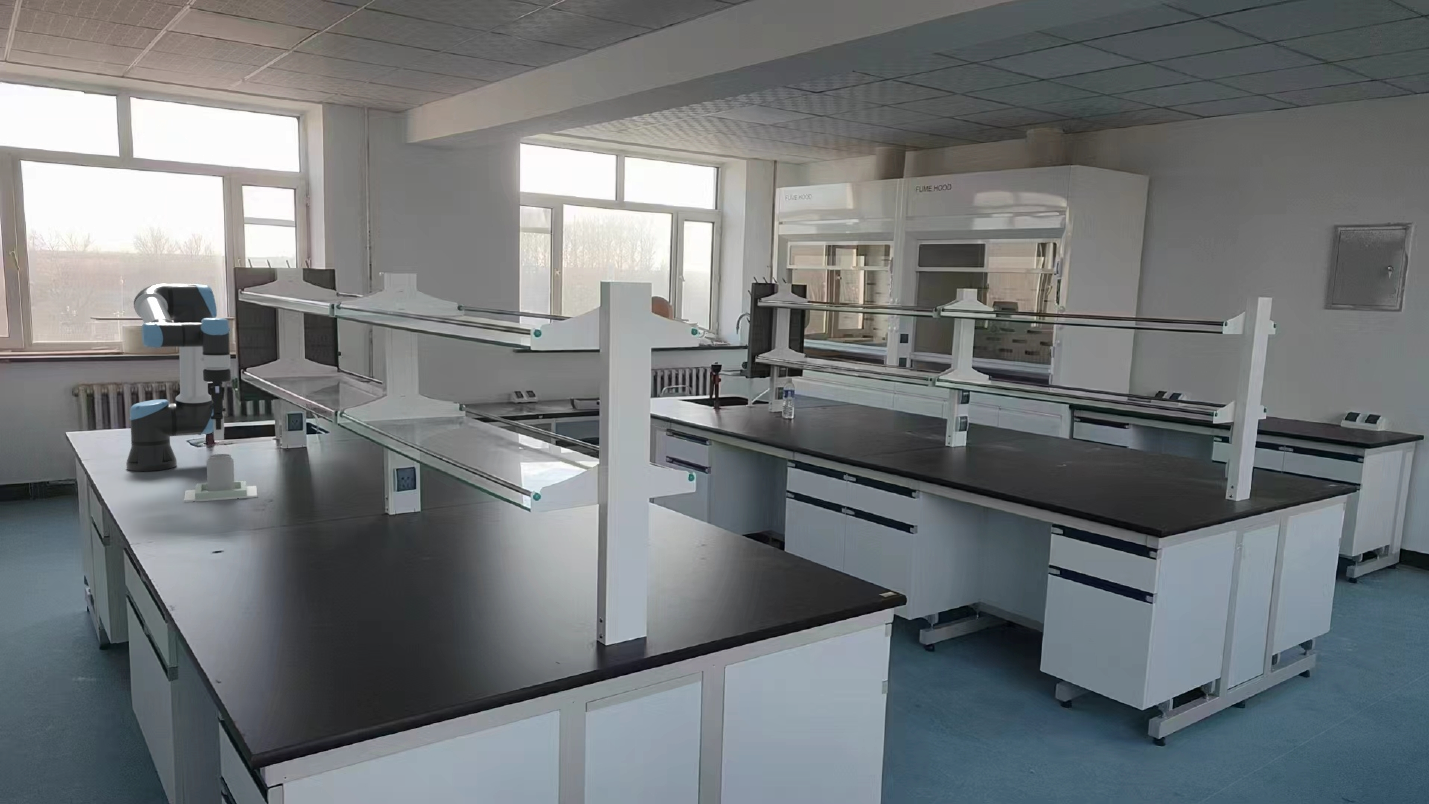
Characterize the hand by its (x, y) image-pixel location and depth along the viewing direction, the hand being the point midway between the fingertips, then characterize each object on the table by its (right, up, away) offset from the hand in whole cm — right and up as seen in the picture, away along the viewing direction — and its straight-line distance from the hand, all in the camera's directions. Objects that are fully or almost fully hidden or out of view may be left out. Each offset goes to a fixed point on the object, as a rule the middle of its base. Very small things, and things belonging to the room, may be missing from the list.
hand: (219, 436), depth 291 cm
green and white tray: (-1, -18, +2) cm, 19 cm away
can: (-1, -18, +2) cm, 18 cm away
